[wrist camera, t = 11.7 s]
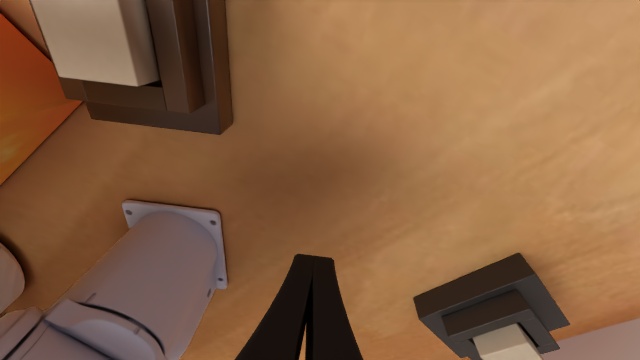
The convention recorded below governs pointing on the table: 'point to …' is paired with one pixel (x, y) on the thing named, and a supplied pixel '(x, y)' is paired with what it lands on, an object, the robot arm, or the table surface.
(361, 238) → the table surface
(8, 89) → the mottled yellow carton
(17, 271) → the vase
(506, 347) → the cream rounded-edge block
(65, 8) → the beige key
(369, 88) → the table surface
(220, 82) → the walnut block
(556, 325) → the black block
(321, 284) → the robot arm
